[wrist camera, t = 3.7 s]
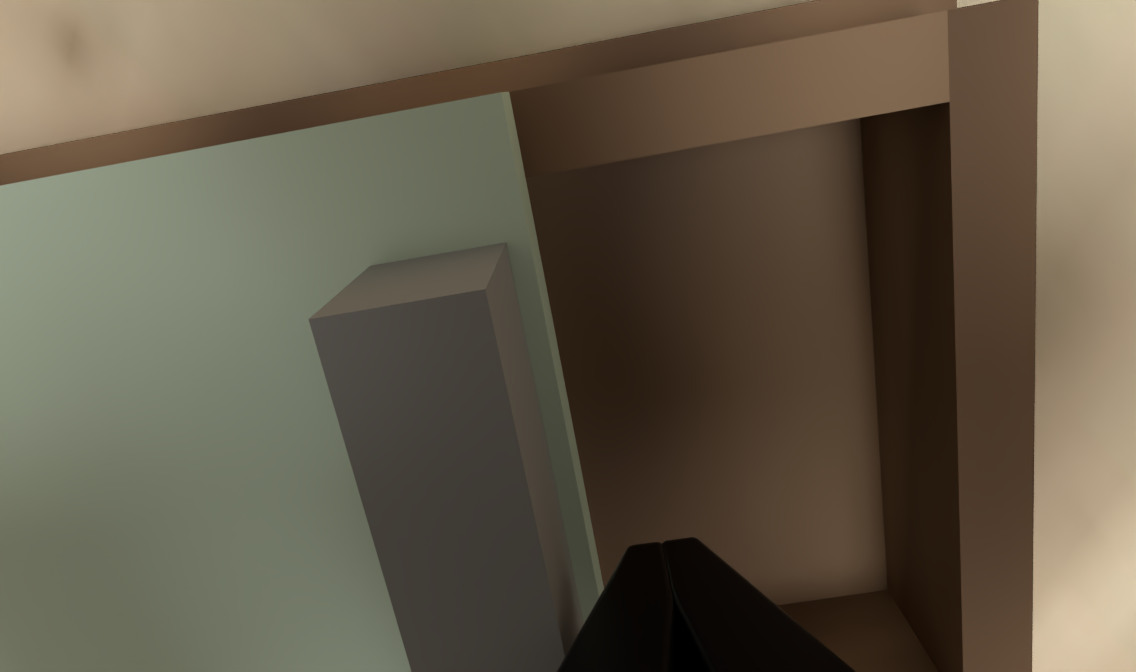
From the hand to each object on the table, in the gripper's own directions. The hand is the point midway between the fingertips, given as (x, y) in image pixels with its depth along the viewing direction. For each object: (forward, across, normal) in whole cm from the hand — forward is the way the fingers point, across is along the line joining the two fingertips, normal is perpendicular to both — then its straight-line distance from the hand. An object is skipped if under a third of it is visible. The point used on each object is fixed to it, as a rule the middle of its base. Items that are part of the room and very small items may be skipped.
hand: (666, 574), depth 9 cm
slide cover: (+1, +6, 0) cm, 7 cm away
